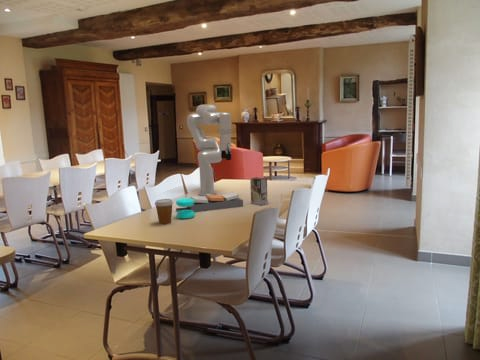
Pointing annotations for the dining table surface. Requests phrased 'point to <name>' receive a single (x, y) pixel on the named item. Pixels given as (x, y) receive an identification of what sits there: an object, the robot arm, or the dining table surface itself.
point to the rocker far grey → (230, 196)
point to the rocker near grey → (199, 199)
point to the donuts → (185, 203)
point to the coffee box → (258, 191)
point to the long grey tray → (213, 205)
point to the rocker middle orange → (214, 198)
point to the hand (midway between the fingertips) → (226, 159)
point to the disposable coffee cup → (164, 210)
